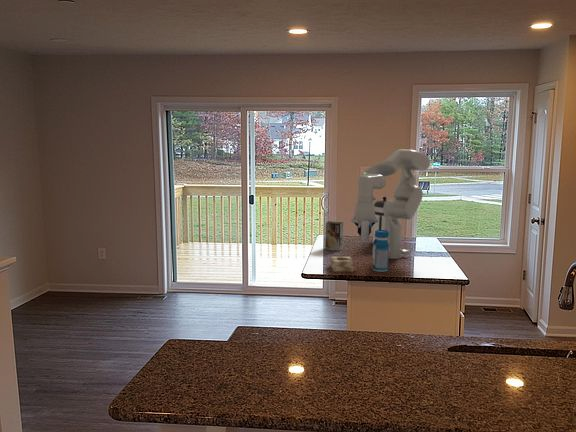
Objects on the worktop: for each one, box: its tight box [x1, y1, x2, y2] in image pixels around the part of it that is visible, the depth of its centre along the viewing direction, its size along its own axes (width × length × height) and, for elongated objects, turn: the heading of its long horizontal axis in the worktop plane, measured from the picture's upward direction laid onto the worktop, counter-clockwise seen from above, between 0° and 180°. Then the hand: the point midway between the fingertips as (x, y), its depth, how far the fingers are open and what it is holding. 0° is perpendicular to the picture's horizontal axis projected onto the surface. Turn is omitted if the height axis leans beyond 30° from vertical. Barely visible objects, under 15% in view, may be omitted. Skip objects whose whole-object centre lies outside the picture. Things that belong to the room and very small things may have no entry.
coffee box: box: [324, 220, 344, 252], centre depth 296 cm, size 9×6×16 cm
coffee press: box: [370, 196, 388, 245], centre depth 310 cm, size 17×16×30 cm
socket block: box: [330, 256, 355, 272], centre depth 255 cm, size 10×10×5 cm
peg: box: [359, 221, 370, 243], centre depth 261 cm, size 4×4×12 cm
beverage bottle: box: [371, 230, 390, 273], centre depth 253 cm, size 8×8×20 cm
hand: (364, 234), depth 262 cm, fingers closed on peg, 4 cm apart
